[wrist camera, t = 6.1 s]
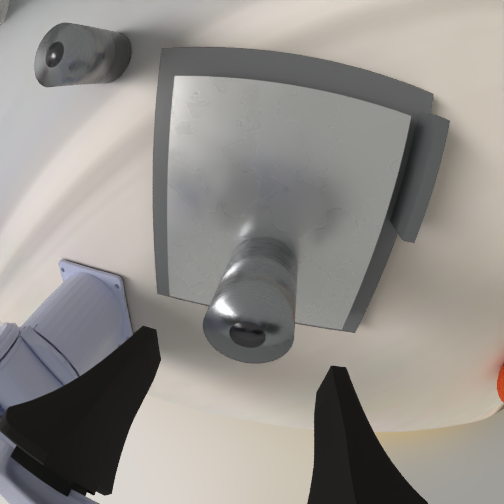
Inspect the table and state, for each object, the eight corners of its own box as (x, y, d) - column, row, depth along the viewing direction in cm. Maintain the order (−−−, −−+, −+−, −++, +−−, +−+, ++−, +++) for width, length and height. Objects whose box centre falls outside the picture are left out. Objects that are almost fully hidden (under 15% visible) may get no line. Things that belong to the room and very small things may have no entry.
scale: (356, 323, 22) (361, 357, 19) (163, 285, 23) (143, 314, 20) (429, 95, 13) (458, 96, 10) (170, 51, 14) (140, 42, 11)
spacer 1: (128, 81, 15) (74, 82, 11) (85, 85, 16) (31, 91, 11) (135, 28, 13) (83, 15, 9) (91, 37, 14) (38, 32, 9)
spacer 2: (293, 298, 18) (287, 368, 13) (230, 290, 18) (205, 356, 13) (301, 241, 16) (300, 306, 11) (230, 233, 16) (199, 293, 11)
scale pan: (339, 313, 20) (341, 329, 18) (178, 281, 21) (169, 295, 19) (400, 114, 13) (411, 115, 11) (186, 77, 14) (174, 75, 12)
